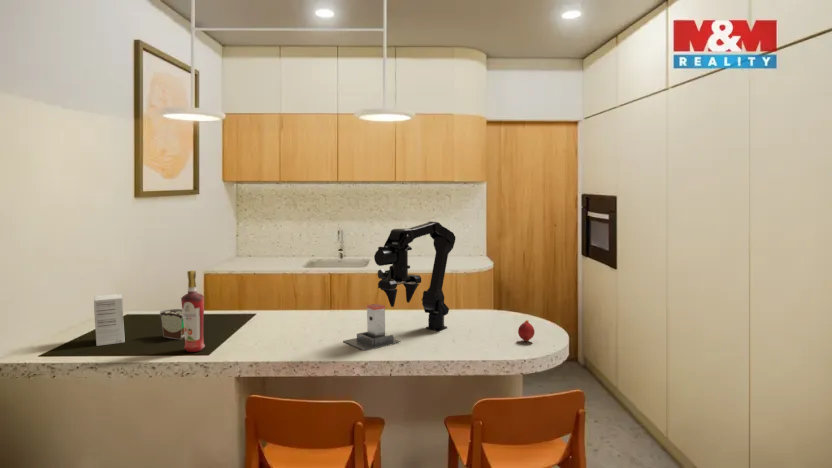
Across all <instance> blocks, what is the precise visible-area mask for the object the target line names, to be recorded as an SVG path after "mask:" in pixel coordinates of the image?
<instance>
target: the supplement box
mask: <svg viewBox="0 0 832 468" xmlns="http://www.w3.org/2000/svg"><path fill="white" fill-rule="evenodd" d="M93 310H94V311H93V313H94V314H93V315H94V328H95V329H94V330H95V342H96V343H95V344H96V346H97V347H98V346H106V345H113V344H122V343H125V342H126V341H125V325H124V323H125V322H124V303H123V295H122V293H115V294H104V295H103V294H102V295H100V294H99V295H94V296H93Z"/></svg>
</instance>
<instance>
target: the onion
mask: <svg viewBox="0 0 832 468" xmlns="http://www.w3.org/2000/svg"><path fill="white" fill-rule="evenodd" d="M517 334H518V336H519V338H520V339H521V340H523V341H524V342H529V341H530V340H531V339H533V337H534V335H535V328H534V326H533V325H532V324H531V323H530V322H529V320H528V319H527V320H524V322H522V323H521V324H520V326H519V327H518V329H517Z"/></svg>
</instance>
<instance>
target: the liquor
mask: <svg viewBox="0 0 832 468" xmlns="http://www.w3.org/2000/svg"><path fill="white" fill-rule="evenodd" d="M186 274H187V279H188V281H187V293H186V294H184V295H183V296H182V297H181V298H180V299H181V309H182V314H183V322H184V334H185V338H184V347H183V349H184V350H185V351H186V352H188V353H197V352H198V353H199V352H201V351H202V350H203V349H204V348H205V347H206V345H205V341H204V339H205V337H204V316H205V315H204V314H205V307H204V306H205V296H204V295H202V293H199V292H198V291H197V289H198V288H197V283H196V277H197V272H196V270H187V273H186Z"/></svg>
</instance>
